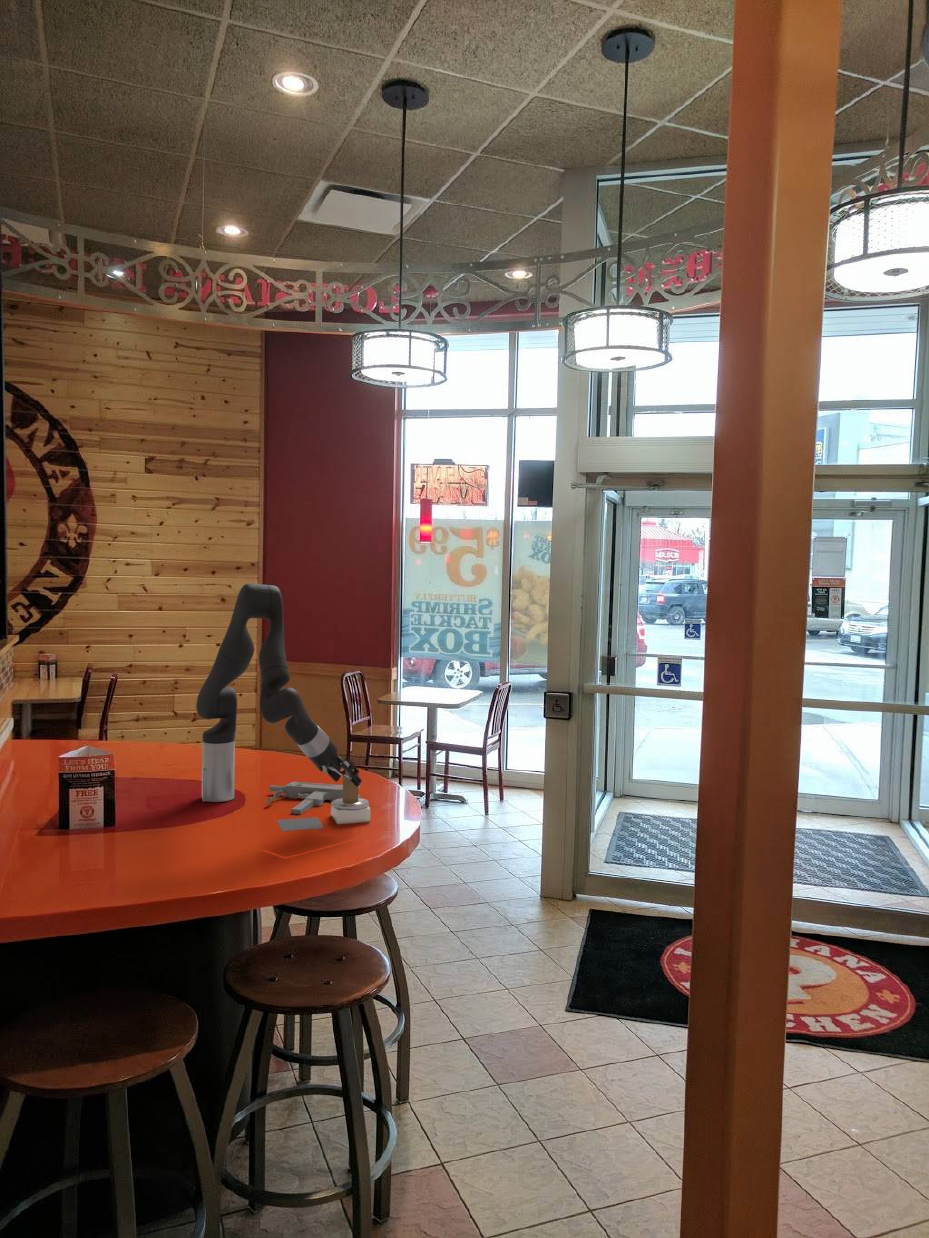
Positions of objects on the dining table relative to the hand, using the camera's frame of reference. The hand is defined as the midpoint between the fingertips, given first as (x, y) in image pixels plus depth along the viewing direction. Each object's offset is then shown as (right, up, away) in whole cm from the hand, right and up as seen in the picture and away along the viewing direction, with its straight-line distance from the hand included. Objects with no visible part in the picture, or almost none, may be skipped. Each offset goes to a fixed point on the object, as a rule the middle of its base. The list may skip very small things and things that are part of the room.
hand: (348, 781), depth 245 cm
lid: (0, -7, +1) cm, 7 cm away
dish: (0, -11, +1) cm, 11 cm away
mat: (-12, -11, -5) cm, 17 cm away
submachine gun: (-16, -10, +18) cm, 26 cm away
